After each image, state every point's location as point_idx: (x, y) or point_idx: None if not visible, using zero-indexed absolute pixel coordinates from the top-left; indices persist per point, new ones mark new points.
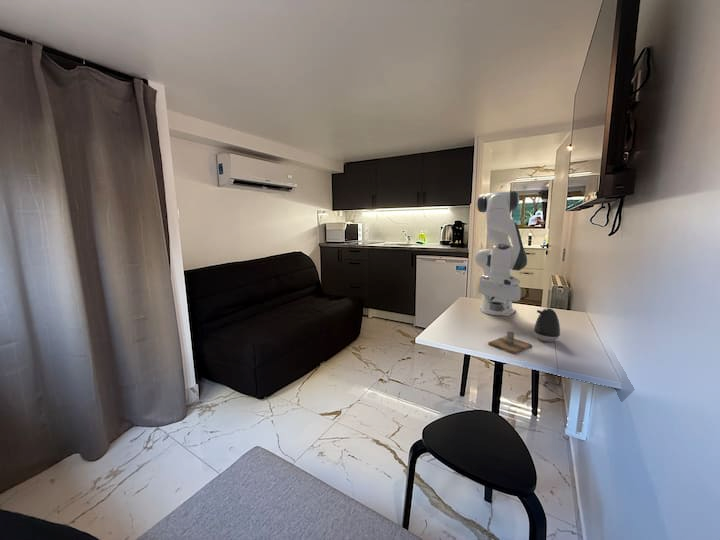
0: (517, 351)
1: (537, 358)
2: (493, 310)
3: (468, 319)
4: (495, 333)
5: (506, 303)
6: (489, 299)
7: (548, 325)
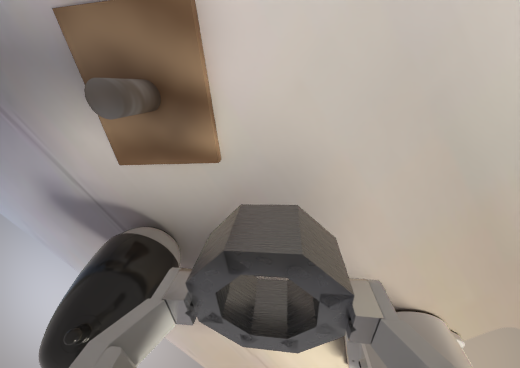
0: (71, 42)
1: (22, 70)
2: (261, 206)
3: (454, 222)
4: (273, 168)
5: (121, 321)
6: (386, 352)
7: (82, 272)
